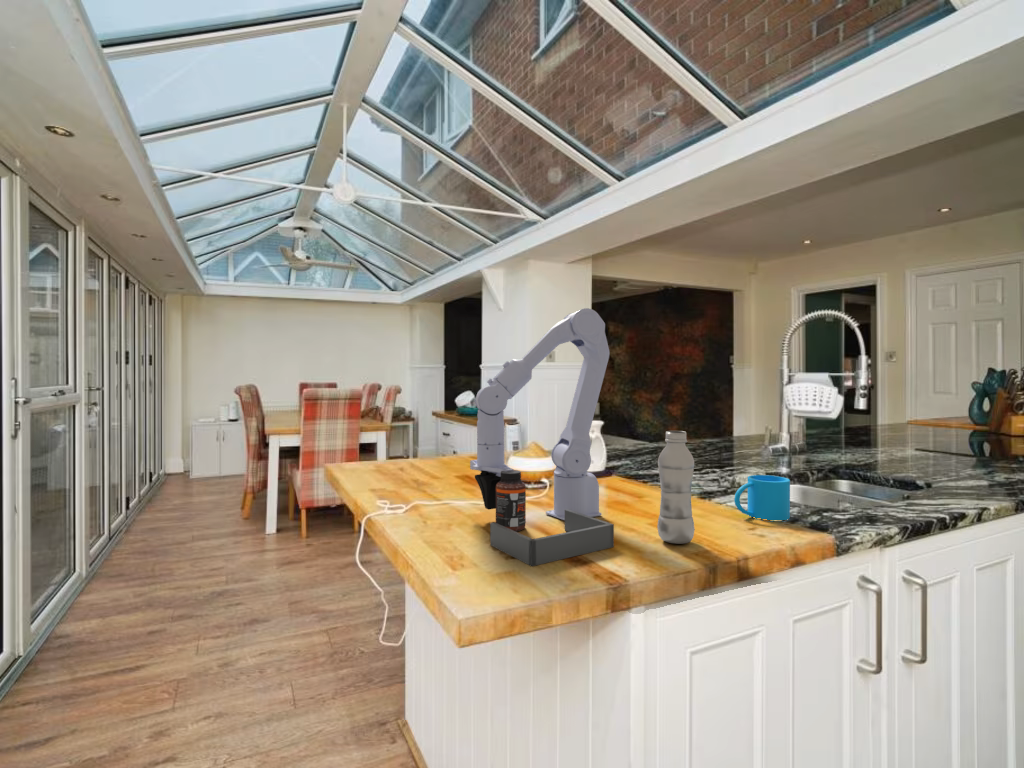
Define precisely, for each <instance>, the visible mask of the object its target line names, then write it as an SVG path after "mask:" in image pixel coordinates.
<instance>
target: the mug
mask: <svg viewBox="0 0 1024 768" xmlns="http://www.w3.org/2000/svg"><path fill="white" fill-rule="evenodd" d="M746 489H747V510H746V509H744V507H743V505H741V502H740V499H741V495H742V494H743V492H744V491H745V490H746ZM733 499H734V505H735V507H736V509H737V510H738V511H739V512H741V513H742V514H743V515H747V516H748V515H749V516H751V517H755V518H761V519H767V520H787V519H789V518H791V480H790V478H788V477H784V476H783V477H782V476H777V475H770V474H769V475H768V474H767V475H766V474H755V475H754V474H753V475H749V476H747V483H744V484H743V485H741V486H740V487H739V488H738V489H737V490H736V492H735V494H734V498H733ZM749 516H748V517H749ZM751 517H750V518H751ZM789 520H790V519H789ZM787 521H788V520H787Z"/></svg>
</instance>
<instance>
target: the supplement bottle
mask: <svg viewBox="0 0 1024 768" xmlns="http://www.w3.org/2000/svg"><path fill="white" fill-rule="evenodd" d="M526 488H527V487H526V484H525V482H523V481H522V472H521V471H520V470H517V469H516V470H515V469H514V471H507V472H504V471H501V481H500V482H498V483H497V484H496V509H495V523H497V524H500V525H502V526H504V527H506V528H509V529H511V530H513V531H516V532H520V531H522V530H524V529H526V523H527V521H526V520H527V519H526V515H527V512H526V509H527V508H526V503H527V502H526V501H527V498H526V491H527V490H526Z"/></svg>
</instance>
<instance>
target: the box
mask: <svg viewBox="0 0 1024 768" xmlns="http://www.w3.org/2000/svg"><path fill="white" fill-rule="evenodd" d="M614 526H615V525H614V524H613V523H611V522H608V521H606V520H602V519H598V518H596V517H590V516H587V515H584V514H581V513H578V512H574V511H571V510H568V509H567V510H565V520H564V531H566V532H561V533H557V534H552V535H547V536H541V537H537V538H536V537H535V538H531V537H528V536H527V535H525V534H522V533H520V532H519V531H513V530H511V529H509V528H506V527H504V526H502V525H500V524H497V523H496V521H494V522H490V530H489V531H490V532H489V533H490V535H489V536H490V537H489V538H490V546H491V547H493V548H495V549H498V550H499V551H501V552H503V553H505V554H507V555H509V556H511V557H513V558H515V559H517V560H519V561H521V562H522V563H524V564H526V565H528V566H530V567H534V566H539V565H543V564H547V563H552V562H555V561H556V562H557V561H560V560H564V559H569V558H573V557H577V556H581V555H585V554H590V553H594V552H598V551H599V552H600V551H603V550H606V549H611V548H614V547H615V545H614V543H615V542H614V541H615V540H614V539H615V538H614V537H615V527H614Z"/></svg>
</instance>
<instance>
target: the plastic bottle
mask: <svg viewBox="0 0 1024 768" xmlns="http://www.w3.org/2000/svg"><path fill="white" fill-rule="evenodd" d="M664 441H665V442H666V445H665V446H664V448H663V449H662V450H661V452H660V453H659V456H658V457H657V458H658V459H657V466H658V473H659V481H660V483H659V485H660V490H661V491H660V505H659V506H660V507H659V515H658V520H657V533H658V536H659V538H660V539H661V540H662V541H663V542H665V543H670V544H678V545H679V544H683V545H684V544H688V543H690V542H691V541H692V540H693V539H694V534H695V521H694V517H693V510H692V486H693V485H692V484H693V476H694V470H695V469H694V468H695V459H694V457H693V454H692V453H691V452H690V450H689V448H688V447H687V446H686V443H688V439H687V432H686V431H683V430H667V431H665V439H664Z"/></svg>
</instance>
